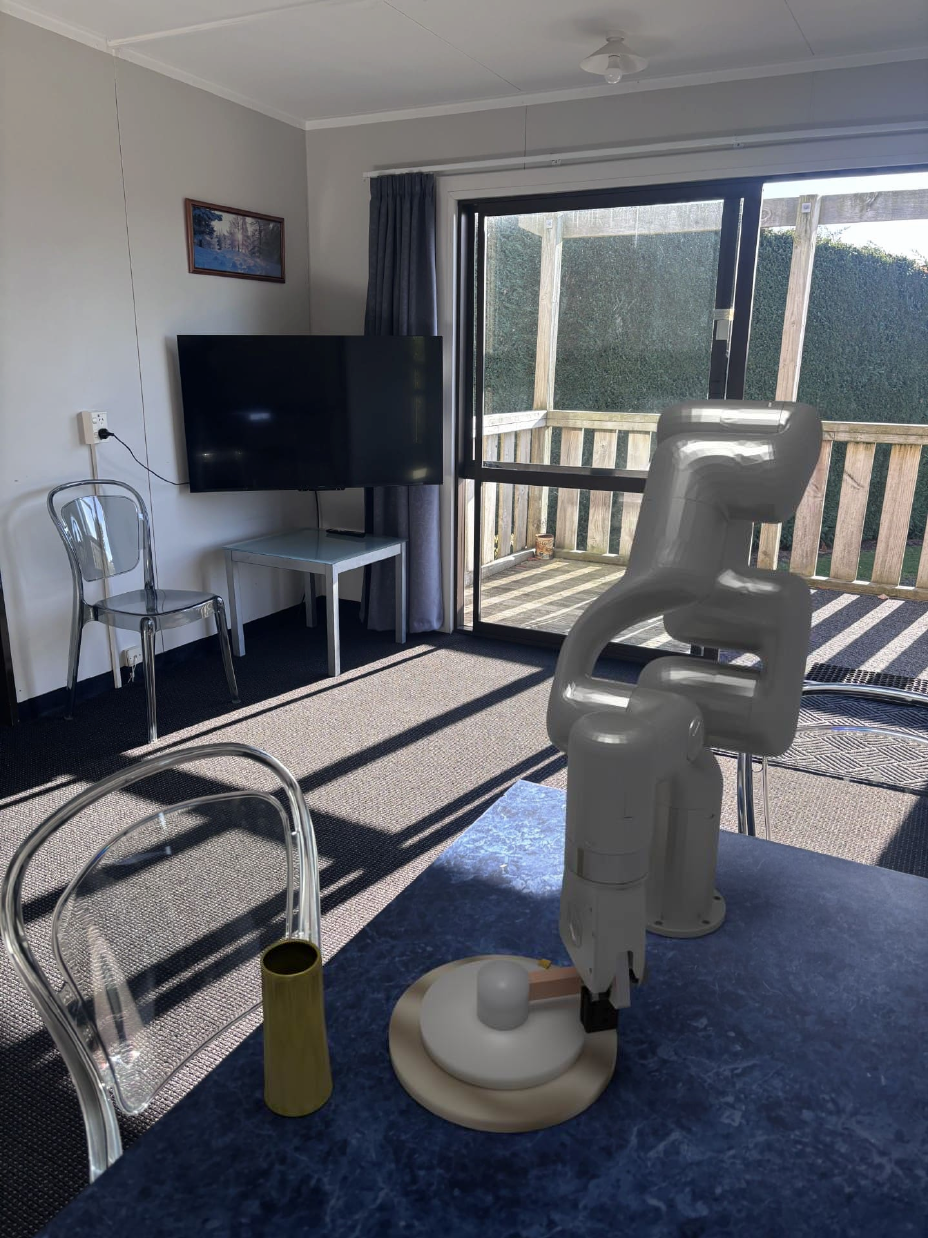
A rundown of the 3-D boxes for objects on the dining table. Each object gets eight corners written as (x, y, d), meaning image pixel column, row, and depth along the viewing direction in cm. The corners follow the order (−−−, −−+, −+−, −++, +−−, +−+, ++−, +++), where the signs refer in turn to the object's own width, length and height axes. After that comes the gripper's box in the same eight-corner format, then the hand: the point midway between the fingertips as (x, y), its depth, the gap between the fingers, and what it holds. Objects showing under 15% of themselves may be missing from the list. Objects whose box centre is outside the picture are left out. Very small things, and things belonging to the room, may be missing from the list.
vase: (318, 1124, 78) (311, 984, 74) (252, 1112, 79) (242, 974, 75) (341, 1071, 84) (336, 939, 80) (280, 1061, 85) (271, 931, 81)
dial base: (456, 944, 102) (456, 929, 102) (645, 1007, 92) (646, 992, 92) (343, 1075, 83) (342, 1058, 83) (565, 1172, 74) (565, 1154, 73)
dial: (436, 1102, 78) (435, 1050, 77) (408, 982, 93) (407, 937, 92) (677, 1063, 83) (681, 1012, 81) (613, 954, 98) (616, 910, 96)
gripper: (541, 815, 85) (536, 979, 90) (596, 905, 71) (587, 1094, 76) (616, 807, 87) (607, 968, 92) (684, 894, 73) (670, 1079, 78)
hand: (598, 1025), depth 84 cm, fingers closed
